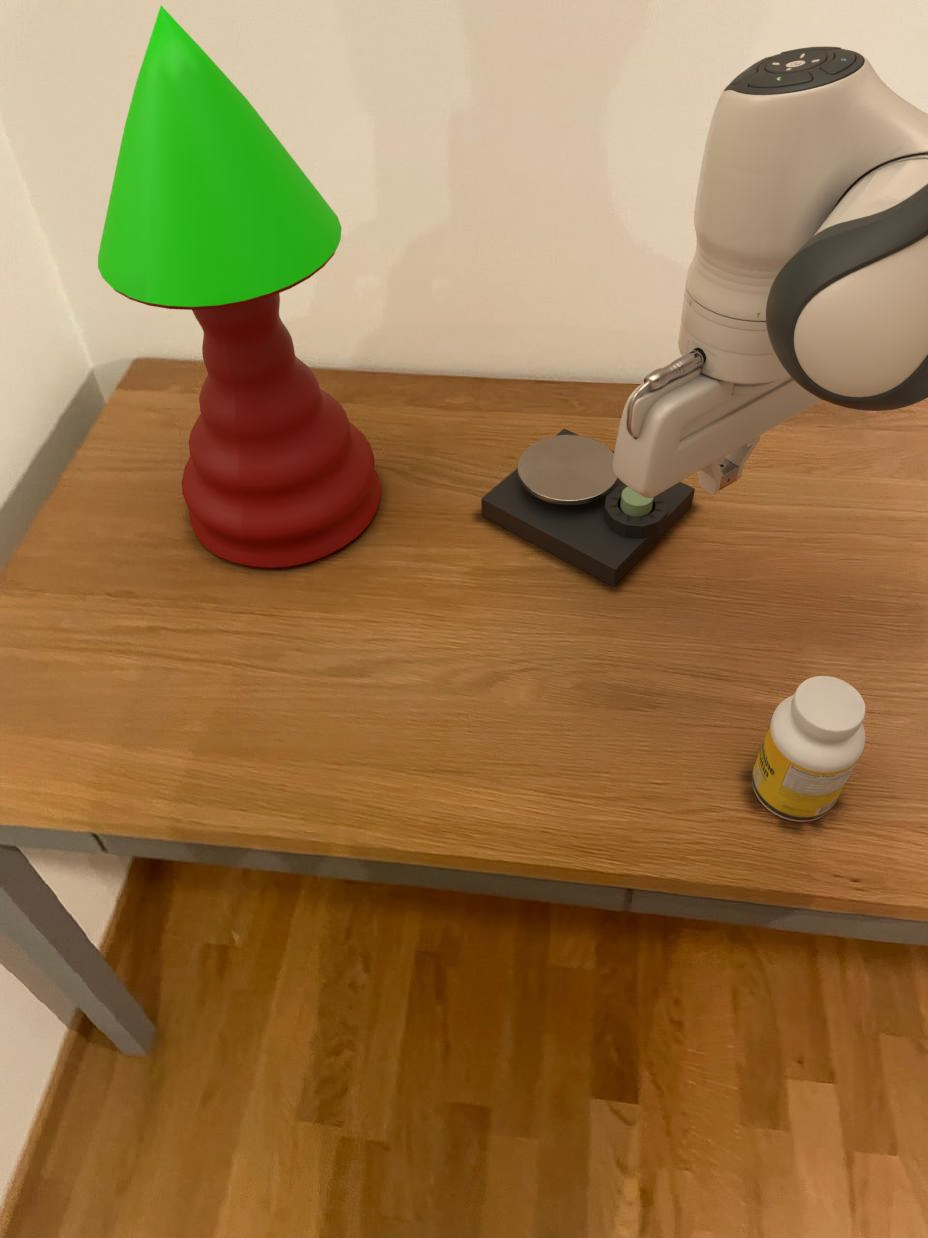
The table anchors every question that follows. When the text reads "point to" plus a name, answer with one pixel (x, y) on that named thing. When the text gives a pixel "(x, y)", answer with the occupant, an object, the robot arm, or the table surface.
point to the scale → (587, 524)
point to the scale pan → (567, 469)
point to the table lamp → (236, 308)
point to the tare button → (635, 503)
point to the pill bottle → (810, 749)
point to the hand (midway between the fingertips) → (718, 483)
